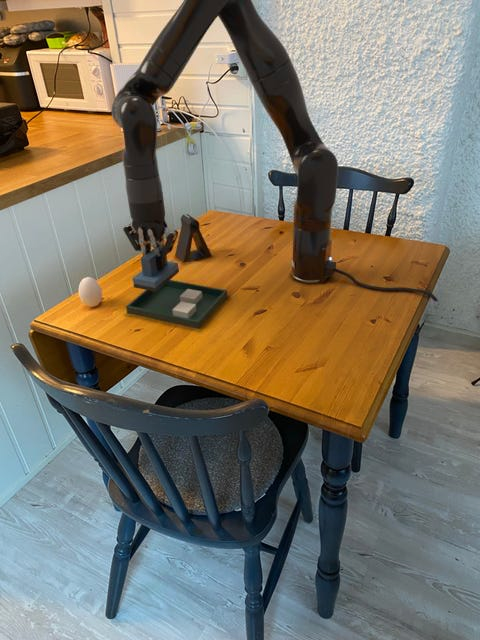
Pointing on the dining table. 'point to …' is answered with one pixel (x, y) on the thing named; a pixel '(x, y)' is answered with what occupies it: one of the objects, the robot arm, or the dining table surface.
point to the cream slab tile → (184, 310)
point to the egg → (90, 292)
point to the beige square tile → (191, 296)
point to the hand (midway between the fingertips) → (155, 268)
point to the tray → (169, 297)
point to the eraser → (154, 273)
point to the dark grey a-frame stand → (185, 240)
